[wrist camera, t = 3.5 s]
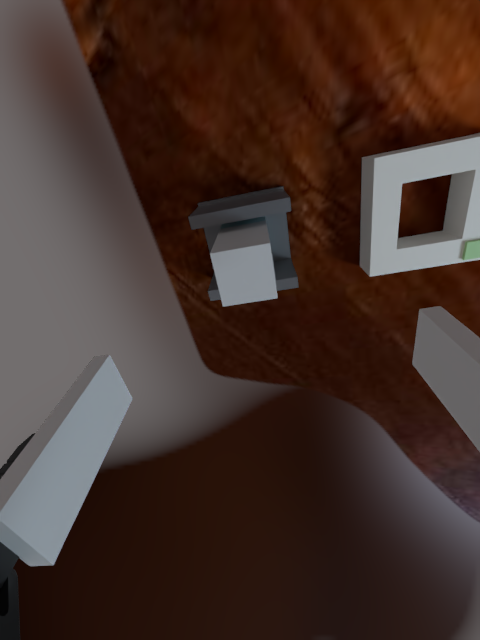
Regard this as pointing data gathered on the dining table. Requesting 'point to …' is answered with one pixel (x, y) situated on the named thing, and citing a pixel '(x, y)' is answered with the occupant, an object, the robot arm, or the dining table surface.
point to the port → (385, 198)
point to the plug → (244, 262)
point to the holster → (248, 207)
